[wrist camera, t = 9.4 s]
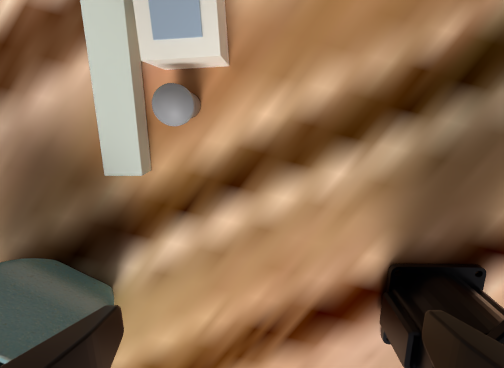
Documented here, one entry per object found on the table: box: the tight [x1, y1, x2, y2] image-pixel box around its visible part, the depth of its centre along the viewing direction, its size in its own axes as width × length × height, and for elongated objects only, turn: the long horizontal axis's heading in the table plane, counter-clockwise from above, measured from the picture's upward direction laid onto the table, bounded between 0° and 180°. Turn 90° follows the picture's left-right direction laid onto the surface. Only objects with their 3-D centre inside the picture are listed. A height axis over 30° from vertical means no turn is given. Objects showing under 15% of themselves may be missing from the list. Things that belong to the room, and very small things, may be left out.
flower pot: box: [0, 258, 114, 366], centre depth 19 cm, size 9×9×9 cm
